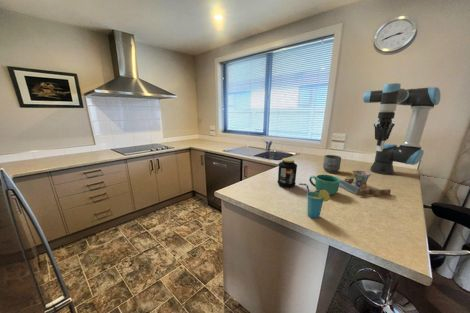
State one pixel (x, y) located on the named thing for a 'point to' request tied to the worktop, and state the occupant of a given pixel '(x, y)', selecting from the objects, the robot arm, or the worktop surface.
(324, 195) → the cup
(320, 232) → the worktop surface
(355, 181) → the mug
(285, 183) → the container
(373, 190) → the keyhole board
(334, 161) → the planter
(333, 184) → the mug
